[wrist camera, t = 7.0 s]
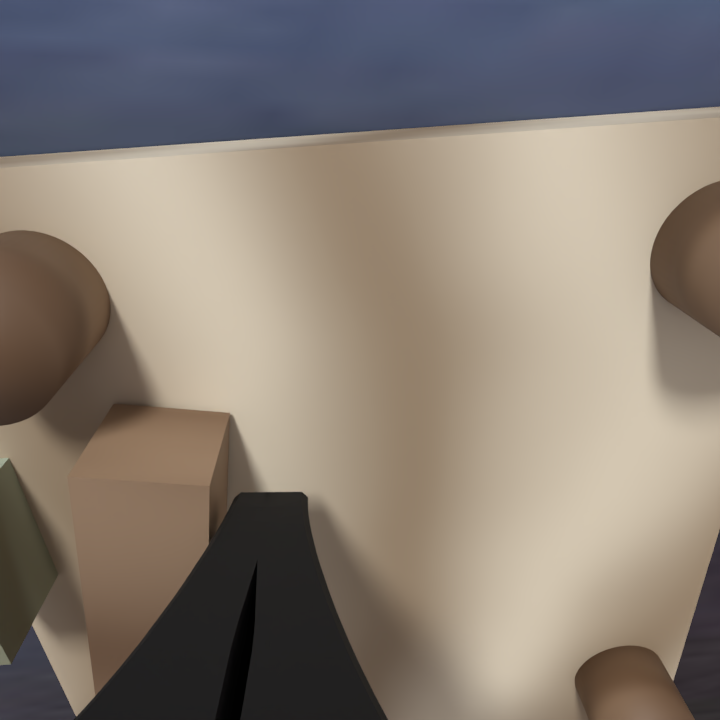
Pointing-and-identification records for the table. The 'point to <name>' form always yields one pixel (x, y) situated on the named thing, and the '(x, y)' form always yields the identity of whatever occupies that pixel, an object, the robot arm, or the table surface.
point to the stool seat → (397, 386)
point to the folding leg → (143, 518)
